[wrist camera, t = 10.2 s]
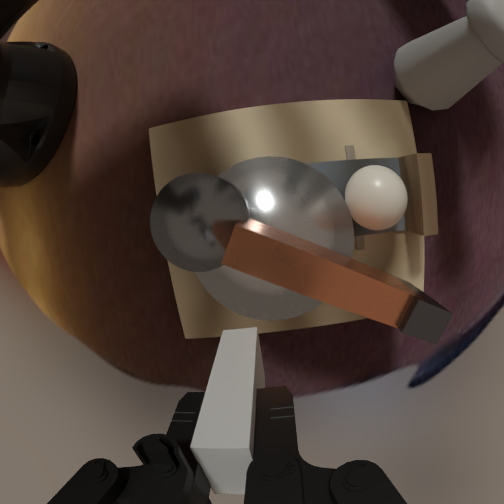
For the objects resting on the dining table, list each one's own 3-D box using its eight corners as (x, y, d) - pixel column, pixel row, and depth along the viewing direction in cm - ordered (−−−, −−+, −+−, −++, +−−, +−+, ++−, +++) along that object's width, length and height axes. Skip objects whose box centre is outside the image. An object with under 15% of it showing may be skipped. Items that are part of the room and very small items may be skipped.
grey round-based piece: (363, 343, 20) (396, 403, 13) (159, 269, 20) (108, 308, 13) (419, 222, 18) (483, 239, 11) (205, 132, 18) (169, 100, 10)
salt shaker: (392, 43, 17) (469, -42, 4) (446, 77, 17) (543, 26, 4) (376, 93, 18) (473, 13, 5) (435, 129, 18) (553, 96, 5)
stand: (189, 331, 22) (174, 358, 18) (154, 131, 19) (130, 119, 15) (415, 301, 21) (440, 321, 17) (400, 104, 18) (425, 89, 14)
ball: (341, 229, 19) (359, 238, 15) (334, 169, 18) (351, 164, 14) (393, 223, 18) (420, 231, 14) (388, 166, 17) (415, 161, 14)
